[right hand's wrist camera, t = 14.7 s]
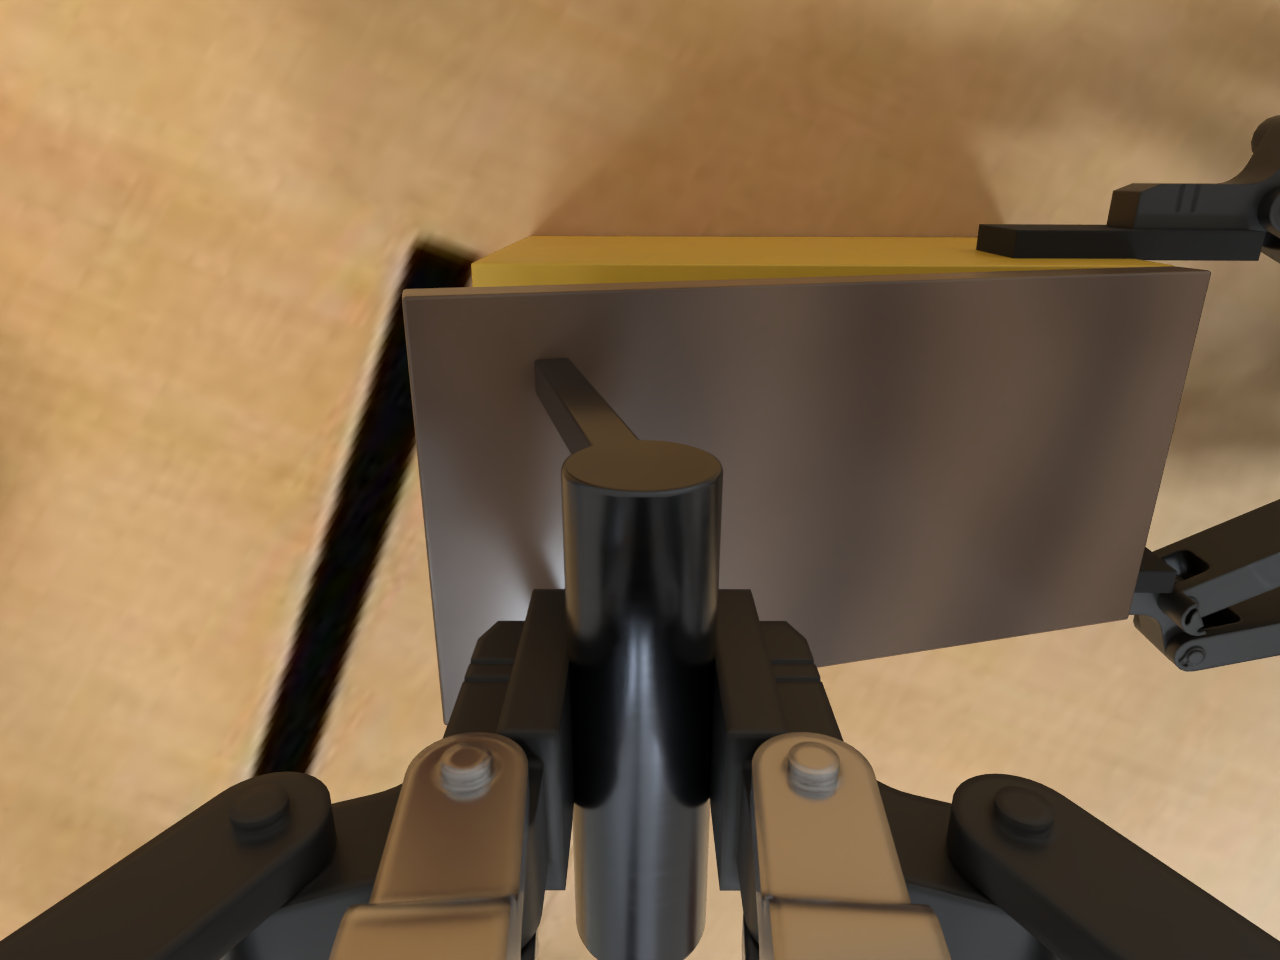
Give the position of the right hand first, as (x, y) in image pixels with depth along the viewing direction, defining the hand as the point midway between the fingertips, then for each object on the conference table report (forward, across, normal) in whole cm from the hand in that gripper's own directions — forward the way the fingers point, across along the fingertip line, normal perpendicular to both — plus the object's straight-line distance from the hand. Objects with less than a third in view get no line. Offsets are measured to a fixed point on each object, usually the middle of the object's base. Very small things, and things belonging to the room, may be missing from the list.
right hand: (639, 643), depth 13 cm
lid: (+7, -4, 0) cm, 9 cm away
